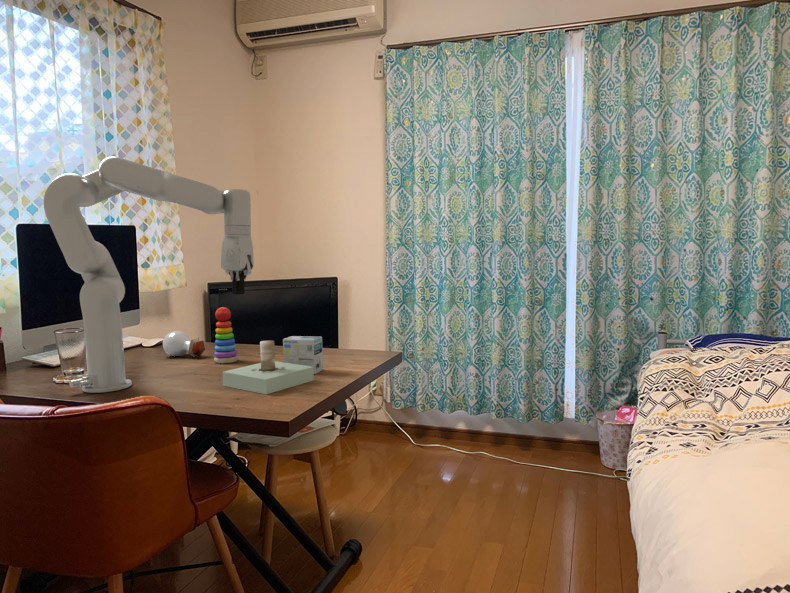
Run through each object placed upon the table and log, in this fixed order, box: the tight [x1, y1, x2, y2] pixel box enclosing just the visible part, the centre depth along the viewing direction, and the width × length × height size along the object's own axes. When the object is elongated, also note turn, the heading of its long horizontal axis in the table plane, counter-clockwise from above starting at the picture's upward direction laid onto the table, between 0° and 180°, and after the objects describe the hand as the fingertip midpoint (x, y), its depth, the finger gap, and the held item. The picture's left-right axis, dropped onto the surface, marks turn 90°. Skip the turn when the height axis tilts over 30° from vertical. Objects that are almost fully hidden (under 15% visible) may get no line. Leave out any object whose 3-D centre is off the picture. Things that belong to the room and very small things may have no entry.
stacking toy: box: [213, 306, 239, 365], centre depth 196 cm, size 8×8×19 cm
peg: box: [259, 339, 276, 372], centre depth 165 cm, size 4×4×12 cm
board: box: [222, 360, 315, 395], centre depth 165 cm, size 18×18×4 cm
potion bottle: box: [162, 330, 206, 358], centre depth 208 cm, size 9×10×15 cm
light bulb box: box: [282, 335, 324, 375], centre depth 179 cm, size 11×7×11 cm, turn 74°
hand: (238, 293), depth 171 cm, fingers closed
